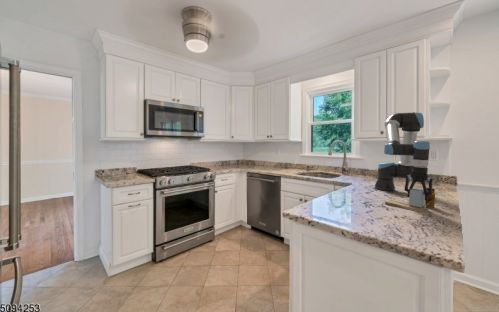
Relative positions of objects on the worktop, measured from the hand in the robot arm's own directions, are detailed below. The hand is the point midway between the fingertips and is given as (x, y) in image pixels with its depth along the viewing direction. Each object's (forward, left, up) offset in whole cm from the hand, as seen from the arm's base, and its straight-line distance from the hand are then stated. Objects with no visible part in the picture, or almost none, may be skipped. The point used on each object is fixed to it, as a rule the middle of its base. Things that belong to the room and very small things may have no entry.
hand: (416, 204), depth 134 cm
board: (0, -6, -3) cm, 7 cm away
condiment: (-11, +3, -3) cm, 12 cm away
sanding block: (0, 0, -1) cm, 1 cm away
